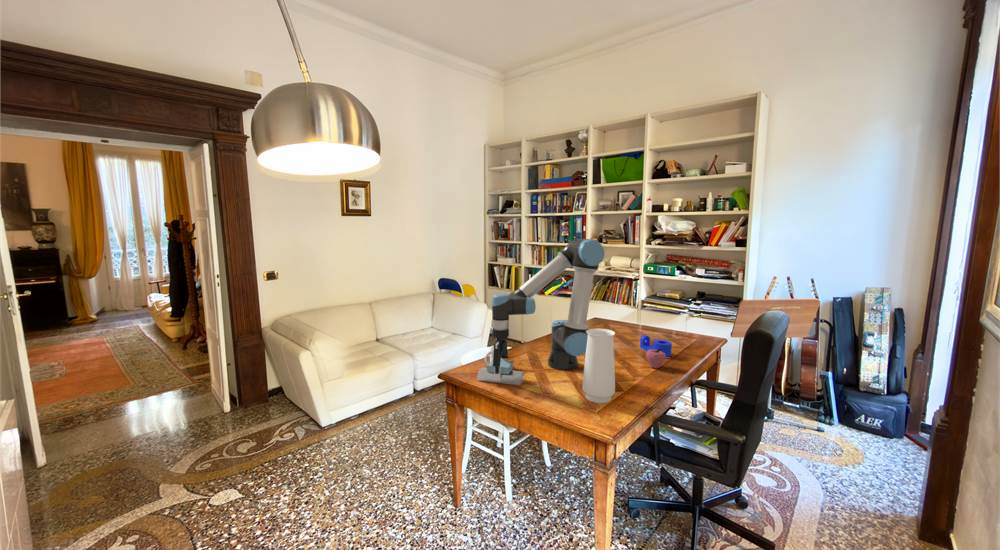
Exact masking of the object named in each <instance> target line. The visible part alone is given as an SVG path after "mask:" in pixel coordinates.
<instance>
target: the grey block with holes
mask: <svg viewBox="0 0 1000 550" xmlns="http://www.w3.org/2000/svg"><path fill="white" fill-rule="evenodd" d="M477 381H479V382H480V381H481V382H490V383H496V384H497V383H498V384H505V385H513V386H521V385H522V383H523V381H524V371H522V370H513V369H512V370H511V371H510V375H506V374H502V373H501V380H494V373H490V372H487V367H483V366H482V367H481V368H480V369H479V370H478V371H477Z"/></svg>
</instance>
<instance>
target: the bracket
mask: <svg viewBox="0 0 1000 550" xmlns="http://www.w3.org/2000/svg"><path fill="white" fill-rule="evenodd" d="M639 342H640V343H639V348H640V347H641V348H643V349H644V350H646V351H648V350H651V349H652V350H659V349H661V351H662V352H664V353H665V355H666V357H670V356H671V357H672V350H673V349H672V347H673V344H672V342H671V341H669V340H664V339H655V340H653V344H651V338H650V336H648V335H646V334H645V335H644V334H642V336H641V337H640V339H639ZM641 348H640V349H641ZM643 349H642V350H643ZM644 350H643V351H644ZM646 351H645V352H646Z"/></svg>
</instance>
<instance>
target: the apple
mask: <svg viewBox="0 0 1000 550" xmlns="http://www.w3.org/2000/svg"><path fill="white" fill-rule="evenodd" d="M645 352H646V351H645ZM645 358H646V361H647V362H648V363H649V366H650V367H651V368H653V367H654V369H659V368H661V366H662V365H663V363H664V362H665V361H666V360H667V358H666V355H665V353H664V352H662V351H661V349H659V350H652V349H651V350H648V351H647V352H646V353H645Z"/></svg>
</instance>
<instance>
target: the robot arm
mask: <svg viewBox="0 0 1000 550" xmlns="http://www.w3.org/2000/svg"><path fill="white" fill-rule="evenodd" d="M604 259H605V249H604V246H603V245H602V244H601V242H599V241H598V240H595V239H592V238H584V237H583V238H581V237H580V238H576V239H573V240H571V241H570V242H569V243H567V244H566V245H565V246H564V247H563V248H562V249H560V250H559V251H558V252H557V256H555V257H554V258H553V259H552V260H550V261H549V262H548V263H547V264H546V265H545V266H543V267H542V268H541V269H540V270H539V271H538V272H536V273H535V274H534V275H533V276H532V277H530V278H529V279H528V280H527V281H525V282H524V283H523V284H522V285H521V286H519V287H518V288H517V289H516V290H515V291H511V292H509V293H508V294H507V293H495V294H493V296H492V301H491V302H492V303H491V306H492V307H491V312H492V313H491V314H492V316H491V317H492V320H491V323H492V324H491V325H492V326H491V327H492V331H491V332H492V333H491V336H492V337H493V338H495V341H494V344H493V345H494V355H493V365H492V366H494V380H501V366H500V361H501V360H507V359H509V354H508V337H510V329H509V328H510V316H513V315H514V316H516V315H517V316H519V315H522V316H523V315H526V316H528V315H533V314H534V313H535V312H536V301H535V299H534V296H535V295H536V294H538V293H539V292H540V291H542V289H544V287H545V288H546V286H547V285H548V284H549V283H551V282H552V281H553V280H555V279H556V278H557V277H558V276H559V275H560V274H562V273H563V272H564V271H565V270H566V269H567V268H573V269H574V275H573V281H572V282H573V283H572V289H571V295H570V303H569V309H568V316H567V319H556V320H553V321H552V323H551V350H550V353H549V355H548V359H547V365H548V366H549V367H550V368H553V369H556V370H562V371H568V370H569V371H570V370H574V369H576V368H578V366H579V361H578V357H579V356H583V355H584V354H586V347H587V338H588V334H587V333H586V331H587V330H589V329H590V328H589V325H587V320H588V313H589V307H590V300H591V299H590V298H591V294H592V287H593V281H594V274H595V273H596V272H597V271H598V270H599V266H600V264H601V263H602V262H603V260H604Z"/></svg>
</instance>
